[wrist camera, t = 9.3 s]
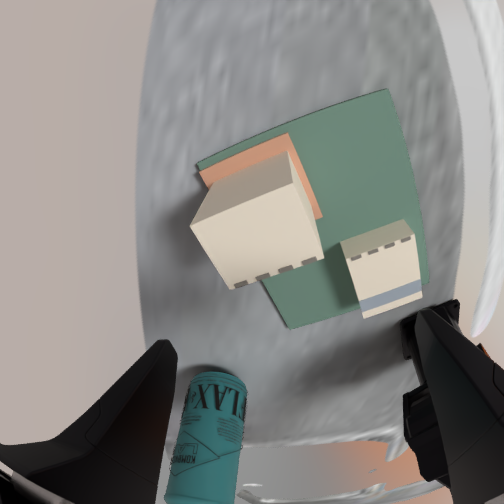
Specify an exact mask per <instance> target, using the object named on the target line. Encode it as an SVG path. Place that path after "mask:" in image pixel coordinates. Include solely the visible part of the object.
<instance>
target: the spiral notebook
mask: <svg viewBox="0 0 504 504" xmlns="http://www.w3.org/2000/svg"><path fill="white" fill-rule="evenodd" d="M340 244H341V247H342V250H343V253H344V256H345V259H346V262H347V265H348V268H349V271H350V274H351V277H352V281H353V284H354V287H355V290H356V294H357V297H358V300H359V304H360V307H361V310H362V314H363V317H364V318H367V317H370V316H373V315H376V314H379V313H382V312H385V311H387V310H390V309H393V308H396V307H398V306H401V305H404V304H407V303H409V302H412V301H414V300H417V299H420V298H422V286H421V278H420V269H419V261H418V253H417V246H416V239H415V234H414V232H413V231H412V230H411V228H410V227H409V226H408V224H407V223H406V222H405V221H404V219H401V220H398V221H396V222H393V223H390V224H388V225H385V226H382V227H379V228H377V229H374V230H371V231H368V232H366V233H363V234H360V235H357V236H355V237H352V238H349V239H346V240H343V241H341V242H340Z"/></svg>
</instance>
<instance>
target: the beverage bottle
mask: <svg viewBox="0 0 504 504" xmlns="http://www.w3.org/2000/svg"><path fill="white" fill-rule="evenodd" d="M189 386H190V388H188V389H187V391H188V394H187V393H186V395H187V398H186V397H185V403H184V404H185V407H184V408H183V409H184V411H183V410H182V411H183V413H182V417H181V418H182V421H181V420H180V421H181V423H180V424H181V425H180V430H179V434H178V438H177V439H176V440H177V443H176V445H175V446H176V447H174V448H175V450H174V448H173V450H174V451H173V455H174V456H173V457H171V460H172V458H173V460H172V461H171V464H172V465H171V470H170V476H169V481H168V485H167V490H166V494H165V495H164V500H165V501H166V503H167V504H234V499H235V490H236V482H237V473H238V464H239V456H240V450H241V449H242V448H243V446H242V448H241V442H242V436H243V435H244V434H243V435H242V433H244V432H243V431H244V430H243V429H244V428H245V427H244V426H245V425H244V426H243V424H244V416H245V415H246V414H245V409H247V407H246V406H247V405H246V400H247V399H246V397H247V390H246V386H245V384H244V383H243V382H242V381H241V380H240V379H238V378H237V377H235V376H232V375H229V374H226V373H222V372H203V373H200V374H198V375H196V376H195V377H194V378H193V380H192V381H191V384H190V385H189ZM247 402H248V401H247ZM245 407H246V408H245ZM245 417H246V416H245ZM245 419H246V418H245ZM243 427H244V428H243ZM243 438H244V437H243ZM175 442H176V441H175Z"/></svg>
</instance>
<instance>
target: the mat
mask: <svg viewBox="0 0 504 504" xmlns="http://www.w3.org/2000/svg"><path fill="white" fill-rule="evenodd" d="M286 132H288V134H289V136H290V138H291V141H292V143H293V145H294V147H295V150H296V152H297V154H298V156H299V159H300V161H301V163H302V166H303V168H304V171H305V173H306V175H307V178H308V180H309V183H310V185H311V187H312V190H313V192H314V195H315V197H316V200H317V202H318V205H319V208H320V210H321V213H322V215H323V217H322V218H319V219H316V220H315V222H316V226H317V230H318V234H319V238H320V242H321V246H322V250H323V255H324V258H323V259H321V260H318V261H316V262H313V263H310V264H307V265H304V266H300V267H297V268H295V269H293V270H290V271H287V272H284V273H281V274H277V275H274V276H271V277H269V278H266V279H263V280H262V281H263V283H264V285H265V287H266V289H267V290H268V292H269V294H270V296H271V297H272V299H273V301H274V303H275V305H276V306H277V308H278V310H279V312H280V313H281V315H282V317H283V319H284V321H285V322H286V324H287V326H288V328H289V329H290V330H291V329H294V328H298V327H301V326H305V325H308V324H312V323H315V322H318V321H322V320H325V319H328V318H331V317H335V316H338V315H341V314H344V313H347V312H350V311H353V310H356V309H359V308H361V307H360V304H359V300H358V297H357V294H356V290H355V287H354V284H353V281H352V277H351V274H350V271H349V268H348V265H347V262H346V259H345V256H344V253H343V250H342V247H341V244H340V242H341V241H343V240H346V239H349V238H352V237H355V236H357V235H360V234H363V233H366V232H368V231H371V230H374V229H377V228H379V227H382V226H385V225H388V224H390V223H393V222H396V221H398V220H401V219H404V221H405V222H406V223H407V224H408V226H409V227H410V228H411V230H412V231H413V232H414V234H415V239H416V246H417V253H418V261H419V269H420V278H421V286H422V285H425V284H427V283H429V273H428V262H427V253H426V244H425V237H424V229H423V223H422V217H421V211H420V205H419V200H418V194H417V189H416V185H415V180H414V175H413V171H412V167H411V162H410V158H409V154H408V151H407V147H406V143H405V139H404V136H403V132H402V129H401V126H400V122H399V119H398V116H397V113H396V110H395V107H394V104H393V101H392V98H391V95H390V92H389V89H383V90H379V91H376V92H373V93H369V94H366V95H363V96H360V97H356V98H353V99H350V100H347V101H344V102H341V103H338V104H335V105H332V106H329V107H327V108H324V109H321V110H318V111H316V112H313V113H310V114H307V115H305V116H302V117H300V118H297V119H294V120H292V121H289V122H287V123H284V124H282V125H279V126H277V127H274V128H272V129H270V130H267V131H265V132H262V133H260V134H258V135H255V136H253V137H251V138H249V139H246V140H244V141H242V142H240V143H237V144H235V145H233V146H231V147H229V148H226V149H224V150H222V151H220V152H218V153H216V154H214V155H212V156H210V157H208V158H206V159H204V160H202V161H199V162H198V163H197V165H198V167H199V169H200V170H202V169H204V168H206V167H208V166H211V165H213V164H215V163H217V162H219V161H221V160H223V159H225V158H228V157H230V156H232V155H234V154H236V153H239V152H241V151H243V150H245V149H248V148H250V147H252V146H255V145H257V144H259V143H262V142H264V141H266V140H269V139H271V138H273V137H276V136H278V135H281V134H283V133H286Z"/></svg>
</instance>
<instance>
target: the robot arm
mask: <svg viewBox="0 0 504 504" xmlns="http://www.w3.org/2000/svg"><path fill="white" fill-rule="evenodd" d="M459 309H460V303H459V301H458V300H457V299H455V300H452V301H450V302H448V303H445V304H443V305H441V306H438V307H436V308H433V309H429V308H427V309H422V310H419V312H418V314H417V315H416V316H413V317H411V318H408V319H405V320H403V321H402V322H401V323H400V328H401V336H402V345H403V354H404V358H405V360H409V359H412V360H413V363H414V366H415V370H416V373H417V376H418V379H419V382H420V385H421V386H419V387H417V388H416V389H414V390H412V391H411V392H407V393H405V394H404V395H403V420H404V437H405V440H406V442H408V445H409V446H410V448H411V449H412V451H414V452H415V454H416V457H417V461H418V466H419V470H420V474H421V476H422V477H423V478H424V479H425V480H426V481H427V482H430V481H433V480H437V481H438V482H440V483H441V484H443V485H444V486H446V487H447V488H449V489H450V492H451V495H452V498H453V504H504V370H503V369H502V368H501V367H500V366H499V365H498V364H497V363H494V361H493V360H492V359H491V358H490V356H489V355H488V354H487V352H486V350H485V349H484V347H483V346H482V344H481V343H479V344H478V345H477V346H475V345H474V344H473V343H472V342H471V341H470V340H468V339H467V338H466V337H465V336H464V335H463V334H462V332H461V330H460V328H459V326H458V321H459ZM177 361H178V356H177V353H176V351H175V349H174V347H173V346H172V344H171V342H170V341H169V340H167V339H162V340H157V341H156V342H155V343H154V344H153V345H152V346H151V347H150V348H149V349H148V350H147V351H146V352H145V353H144V354H143V355H142V356H141V357H140V358H139V359H138V361H136V362H135V363H134V364H133V366H131V367H130V368H129V369H128V371H126V372H125V373H124V374H123V375H122V376H121V377H120V378H119V379H118V380H117V381H116V382H115V383H114V385H112V386H111V387H110V388H109V389H108V390H107V391H106V393H104V395H102V396H101V397H100V399H99V400H97V401H96V403H94V404H93V405H92V406H91V407H90V408H89V409H88V410H87V411H86V412H85V413H84V414H83V415H82V416H81V417H79V418H78V419H77V420H76V421H75V422H74V423H72V424H71V425H70V426H69V427H68V428H66V429H65V430H64V431H63V432H62V433H60V434H59V435H58V436H56V437H55V438H53V439H51V440H48V441H43V442H35V443H27V444H18V445H3V444H1V443H0V461H1V462H2V463H4V464H5V465H6V466H8V467H9V468H11V469H12V470H13V474H12V476H10V475H9V474H7V473H5V472H4V471H2V470H1V469H0V504H155V501H156V494H157V488H158V486H157V485H158V480H159V474H160V468H161V462H162V456H163V451H164V445H165V440H166V434H167V429H168V424H169V419H170V413H171V408H172V403H173V398H174V392H175V383H176V372H177Z"/></svg>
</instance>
